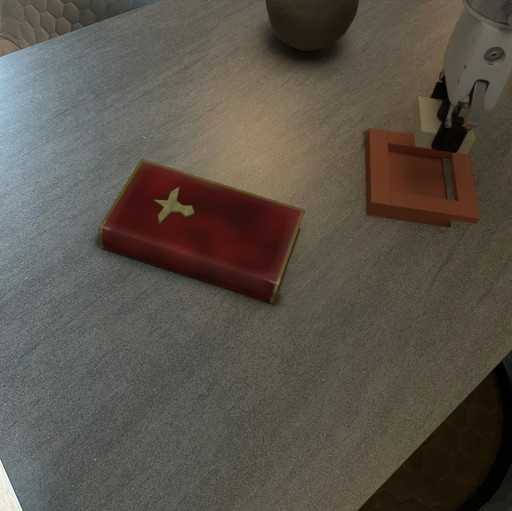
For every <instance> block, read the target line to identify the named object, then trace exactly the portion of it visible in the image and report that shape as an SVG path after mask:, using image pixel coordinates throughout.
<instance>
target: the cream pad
mask: <svg viewBox="0 0 512 511" xmlns="http://www.w3.org/2000/svg"><path fill="white" fill-rule="evenodd" d="M450 106H451V102H450V100H449V98H445V99H444V100H439V99H433V98H430V97H426V96H421V95H418V96H417V99H416V101H415V103H414V105H413V107H412V110H411V115H412V116H411V117H412V125H413V126H412V127H413V135H414V138H415V146H417V147H423V148H430V149H432V146H431V144H432V142H433V140H434V138H435V136H436V133H437V131H438V129H439V127H440V125H441V123H442V121H446V119H447V115H448V112H449V109H450ZM466 112H467V108H461V107H458V109H457V112H456V115H455V117H459V116H460V117H463V116H464V115H465V114H466ZM475 141H476V136H475V131H474V128H473V129H471V130H470V131H468V133H467V135H466V137H465V139H464V141H463V142H462V144H461V146H460V148H459V150H458V152H456V153H461V154H468V152H469V153H470V150H471V148H472V146H473V144H474V143H475Z"/></svg>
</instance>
